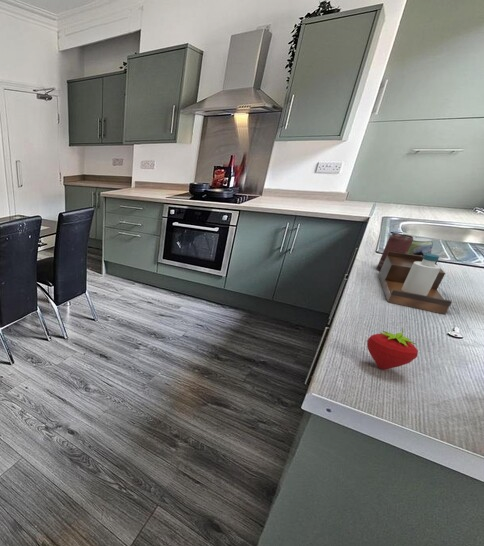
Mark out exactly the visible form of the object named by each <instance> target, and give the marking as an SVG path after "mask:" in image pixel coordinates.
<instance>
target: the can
mask: <svg viewBox="0 0 484 546" xmlns="http://www.w3.org/2000/svg"><path fill="white" fill-rule="evenodd" d="M413 238H414V237H413V236H412V235H409V234H403V233H396V232H395V233H392V234H391V235H389V237H388V240H387V242H386V245H385V247H384V249H383V252H382V254H381V256H380V259H379V261H378V264H377V266H376V270H377V271H378V272H380V270H381V268H382V266H383V263H384V261H385V259H386V256H387V254H388V252H389V251H392V252H399V253H406V254H407V253H408V251H409V248H410V246H411V244H412V242H413Z"/></svg>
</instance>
